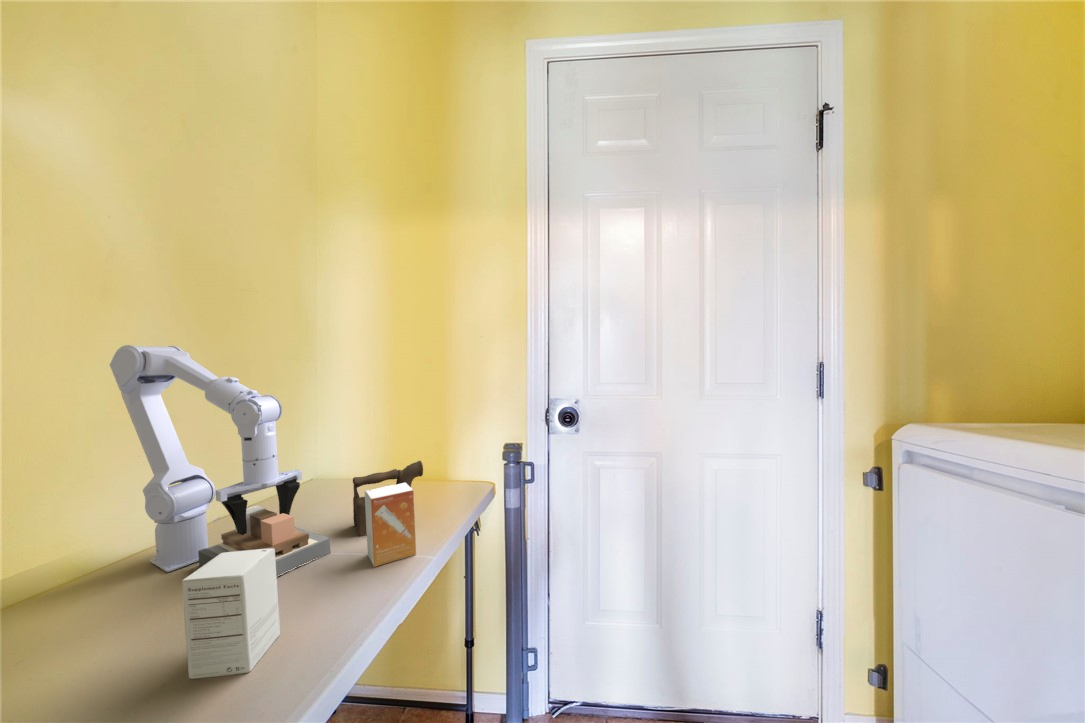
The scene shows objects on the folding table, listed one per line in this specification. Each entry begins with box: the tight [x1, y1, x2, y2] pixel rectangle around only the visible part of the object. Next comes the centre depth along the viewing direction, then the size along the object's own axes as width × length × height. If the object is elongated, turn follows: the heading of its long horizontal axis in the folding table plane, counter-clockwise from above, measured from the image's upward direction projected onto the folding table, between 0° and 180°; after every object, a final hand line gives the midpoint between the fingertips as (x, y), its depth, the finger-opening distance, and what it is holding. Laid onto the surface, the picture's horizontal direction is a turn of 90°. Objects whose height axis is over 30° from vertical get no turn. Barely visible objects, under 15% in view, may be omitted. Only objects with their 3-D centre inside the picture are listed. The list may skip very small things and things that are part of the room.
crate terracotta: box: [261, 513, 296, 546], centre depth 78 cm, size 4×4×4 cm
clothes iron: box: [352, 460, 424, 537], centre depth 96 cm, size 8×16×13 cm, turn 121°
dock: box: [198, 526, 331, 576], centre depth 80 cm, size 19×15×3 cm
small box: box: [364, 483, 417, 568], centre depth 80 cm, size 8×6×13 cm
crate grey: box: [234, 504, 267, 535], centre depth 83 cm, size 4×4×4 cm
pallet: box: [220, 509, 309, 555], centre depth 80 cm, size 17×8×6 cm, turn 59°
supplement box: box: [181, 548, 281, 680], centre depth 54 cm, size 7×7×13 cm
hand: (264, 525), depth 80 cm, fingers open, 7 cm apart
